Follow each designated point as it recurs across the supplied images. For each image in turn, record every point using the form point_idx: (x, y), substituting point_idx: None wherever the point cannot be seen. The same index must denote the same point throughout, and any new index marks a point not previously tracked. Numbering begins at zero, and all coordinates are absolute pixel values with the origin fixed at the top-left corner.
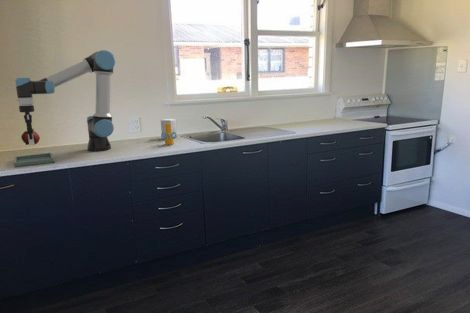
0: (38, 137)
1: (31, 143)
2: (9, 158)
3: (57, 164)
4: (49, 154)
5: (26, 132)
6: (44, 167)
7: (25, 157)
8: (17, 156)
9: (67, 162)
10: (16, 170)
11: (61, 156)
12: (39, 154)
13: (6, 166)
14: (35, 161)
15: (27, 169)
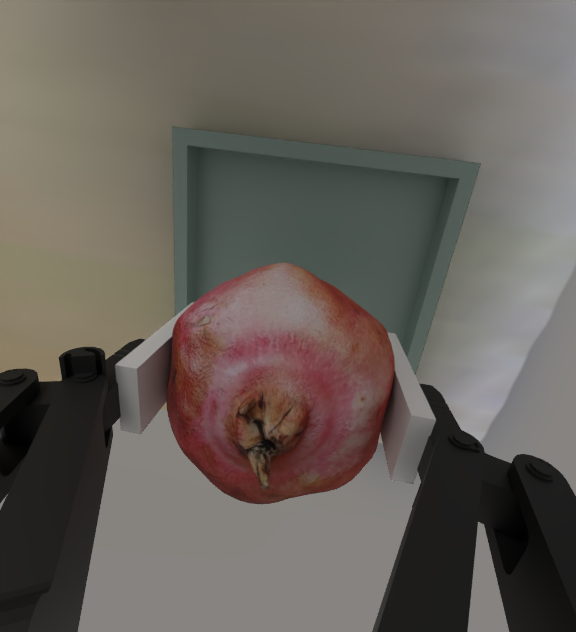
0: (336, 293)
1: None
2: None
3: (561, 157)
4: (192, 149)
5: (321, 490)
6: (571, 265)
7: None
8: None
9: (566, 54)
10: (487, 409)
11: (238, 48)
12: (188, 230)
13: None
14: (434, 303)
15: (521, 361)
